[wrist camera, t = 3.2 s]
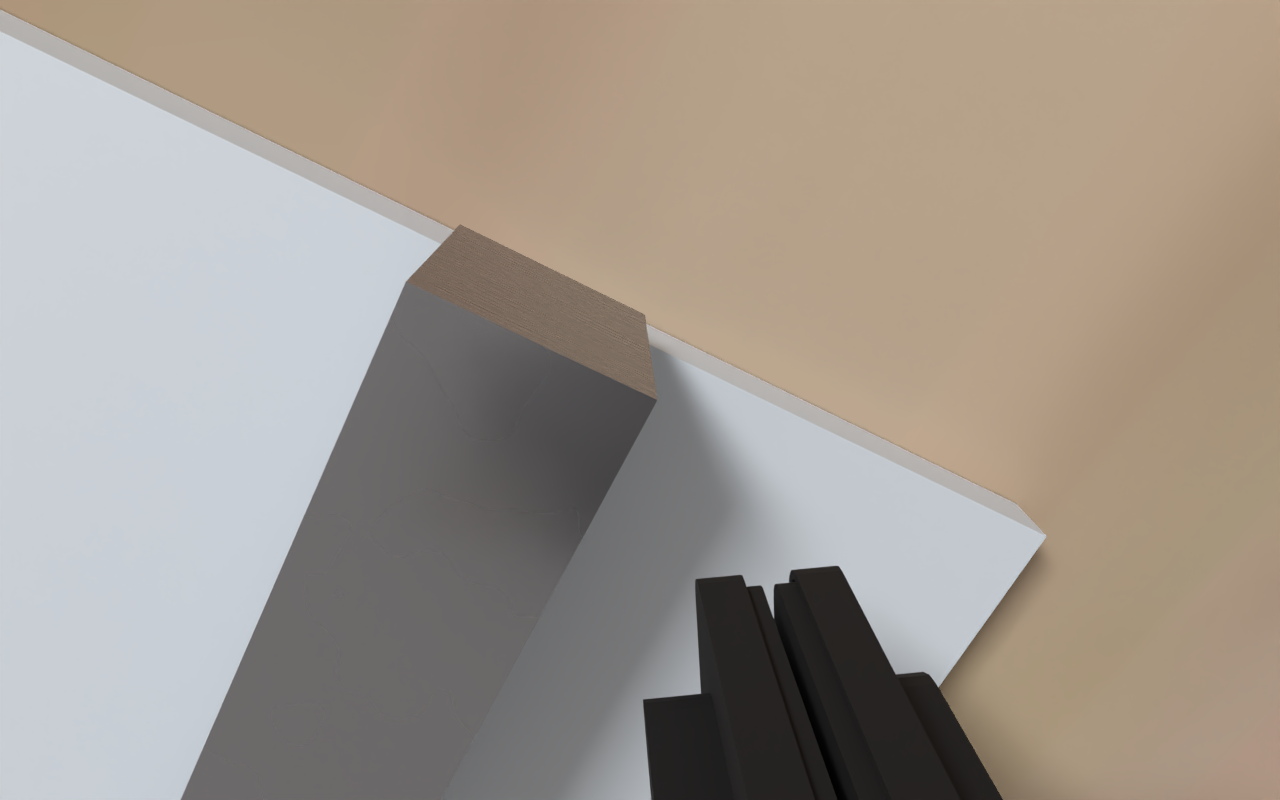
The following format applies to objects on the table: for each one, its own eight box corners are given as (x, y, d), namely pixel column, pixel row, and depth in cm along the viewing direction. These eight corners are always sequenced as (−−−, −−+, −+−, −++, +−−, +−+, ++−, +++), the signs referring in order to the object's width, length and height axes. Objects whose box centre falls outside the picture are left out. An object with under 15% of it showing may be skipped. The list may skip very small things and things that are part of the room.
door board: (1016, 503, 16) (1138, 634, 13) (532, 1199, 22) (517, 1432, 18) (-689, -326, 12) (-1303, -513, 8) (-747, 823, 17) (-1122, 1031, 14)
